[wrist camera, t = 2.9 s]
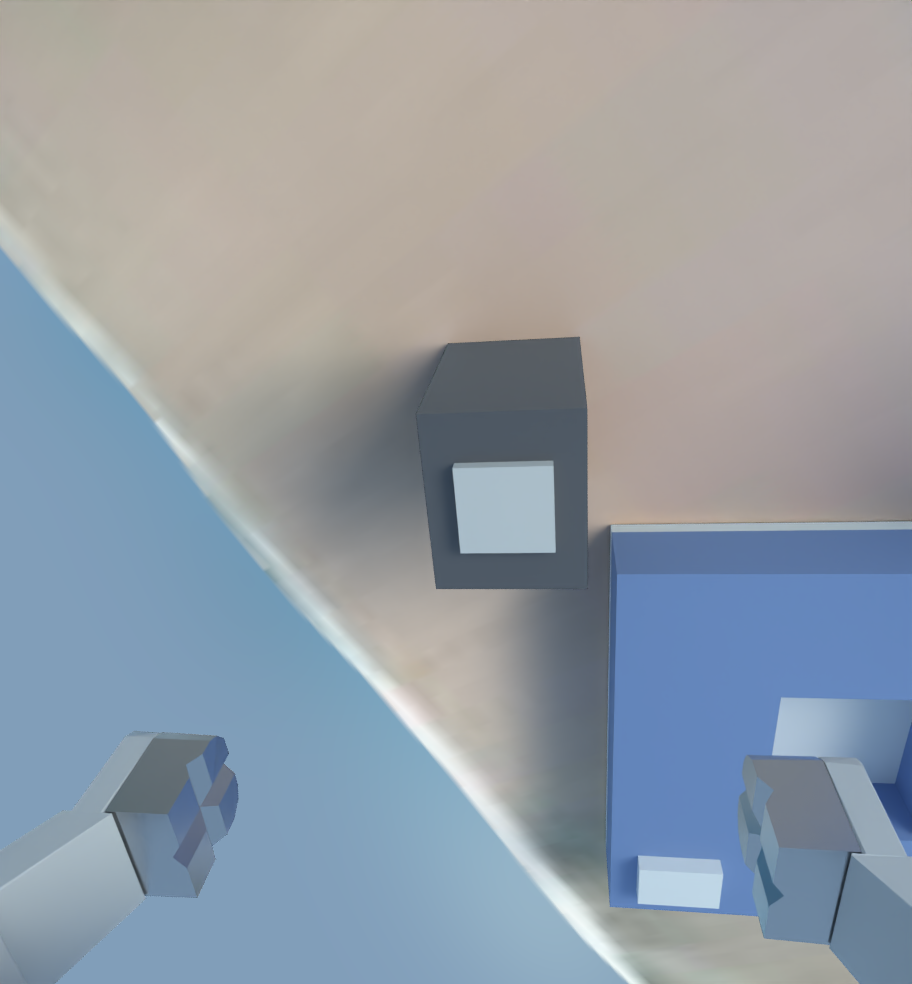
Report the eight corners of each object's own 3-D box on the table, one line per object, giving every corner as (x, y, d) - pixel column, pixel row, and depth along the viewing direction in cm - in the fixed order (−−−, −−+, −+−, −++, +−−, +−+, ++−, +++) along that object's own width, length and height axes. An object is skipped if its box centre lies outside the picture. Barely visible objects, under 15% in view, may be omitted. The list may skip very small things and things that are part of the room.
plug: (448, 343, 23) (413, 418, 17) (579, 336, 22) (587, 413, 16) (461, 487, 25) (434, 595, 19) (580, 484, 24) (587, 595, 19)
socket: (610, 524, 25) (618, 585, 22) (1142, 518, 22) (1238, 586, 19) (605, 841, 32) (610, 921, 29) (1006, 861, 30) (1060, 951, 27)
